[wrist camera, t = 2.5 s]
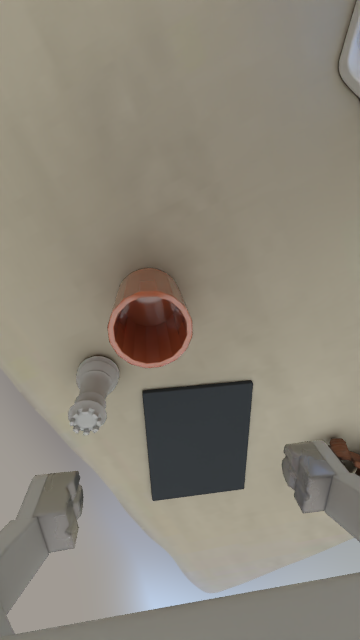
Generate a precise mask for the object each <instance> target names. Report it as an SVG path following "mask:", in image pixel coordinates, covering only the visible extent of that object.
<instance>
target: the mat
mask: <svg viewBox="0 0 360 640" xmlns="http://www.w3.org/2000/svg"><path fill="white" fill-rule="evenodd" d="M252 389H253V382H252V381H241V382H230V383H219V384H209V385H198V386H187V387H177V388H166V389H155V390H145V391H143V404H144V414H145V425H146V436H147V446H148V457H149V468H150V479H151V489H152V500H153V501H157V500H164V499H172V498H179V497H187V496H194V495H202V494H209V493H217V492H224V491H232V490H239V489H244V482H245V470H246V459H247V447H248V435H249V424H250V412H251V401H252Z"/></svg>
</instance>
